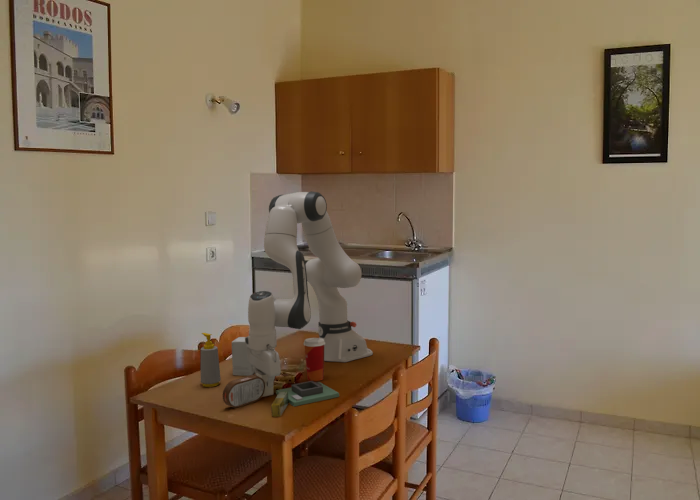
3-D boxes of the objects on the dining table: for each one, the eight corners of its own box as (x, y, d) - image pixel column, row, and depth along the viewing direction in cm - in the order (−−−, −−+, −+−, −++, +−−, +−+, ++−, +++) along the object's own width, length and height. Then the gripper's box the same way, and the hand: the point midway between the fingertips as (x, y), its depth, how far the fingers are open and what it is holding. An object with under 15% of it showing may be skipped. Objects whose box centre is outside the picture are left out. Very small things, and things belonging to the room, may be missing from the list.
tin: (261, 396, 208) (260, 371, 208) (267, 398, 206) (266, 373, 205) (222, 409, 198) (221, 382, 197) (228, 411, 196) (227, 384, 195)
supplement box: (251, 376, 230) (250, 341, 229) (232, 375, 232) (230, 341, 230) (258, 370, 237) (257, 336, 236) (239, 369, 239) (238, 336, 238)
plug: (268, 391, 214) (267, 367, 213) (273, 394, 210) (272, 370, 209) (257, 393, 211) (256, 369, 211) (262, 396, 208) (261, 372, 207)
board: (319, 385, 218) (319, 376, 218) (339, 396, 206) (338, 387, 206) (276, 393, 210) (275, 384, 210) (293, 406, 198) (293, 396, 198)
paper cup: (310, 374, 230) (309, 336, 229) (329, 376, 227) (328, 338, 226) (300, 381, 223) (299, 341, 222) (320, 383, 220) (319, 343, 219)
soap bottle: (212, 380, 227) (210, 330, 225) (225, 383, 222) (222, 333, 220) (196, 385, 222) (193, 334, 220) (208, 389, 217) (206, 337, 215)
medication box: (280, 403, 202) (279, 390, 202) (289, 403, 202) (288, 390, 202) (271, 417, 190) (270, 404, 190) (280, 417, 190) (279, 404, 190)
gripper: (284, 347, 201) (286, 389, 203) (260, 334, 219) (261, 373, 220) (266, 350, 198) (267, 393, 200) (242, 336, 216) (244, 376, 217)
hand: (264, 383), depth 210 cm, fingers open, 8 cm apart
